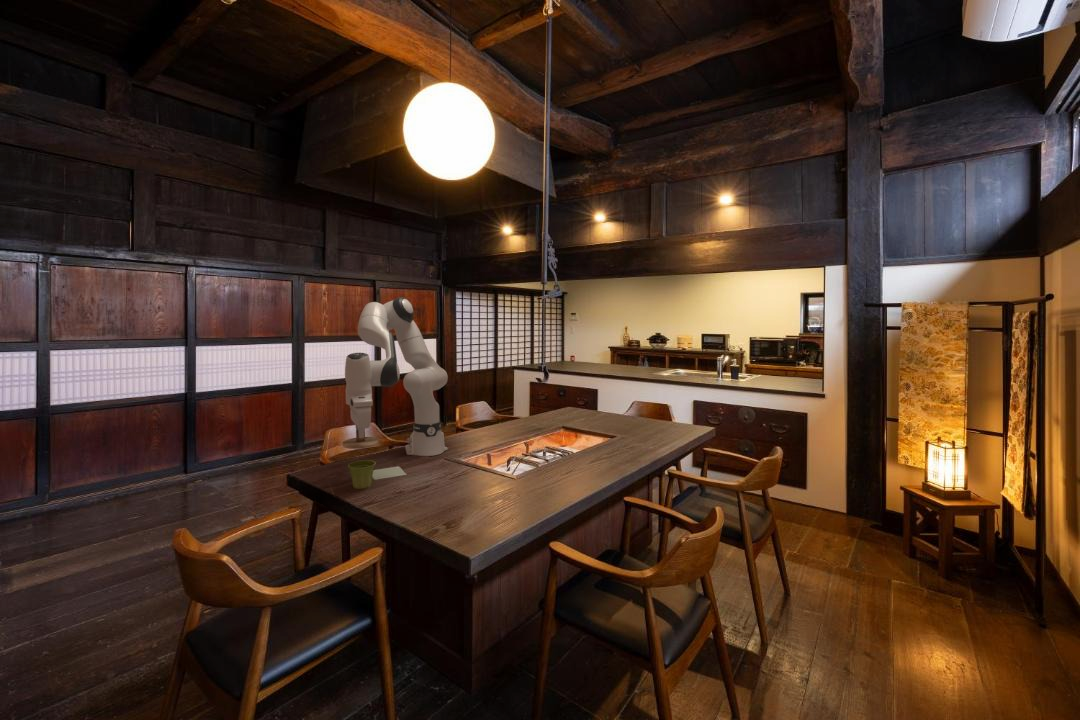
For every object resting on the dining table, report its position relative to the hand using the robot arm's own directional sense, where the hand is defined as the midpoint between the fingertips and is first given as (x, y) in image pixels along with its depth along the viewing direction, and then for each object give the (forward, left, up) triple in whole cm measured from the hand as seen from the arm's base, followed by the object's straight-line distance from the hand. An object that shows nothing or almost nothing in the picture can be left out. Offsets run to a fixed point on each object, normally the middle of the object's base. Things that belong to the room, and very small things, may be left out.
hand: (360, 436), depth 168 cm
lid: (0, 0, -3) cm, 3 cm away
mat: (-10, +11, -19) cm, 24 cm away
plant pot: (0, 0, -19) cm, 19 cm away
